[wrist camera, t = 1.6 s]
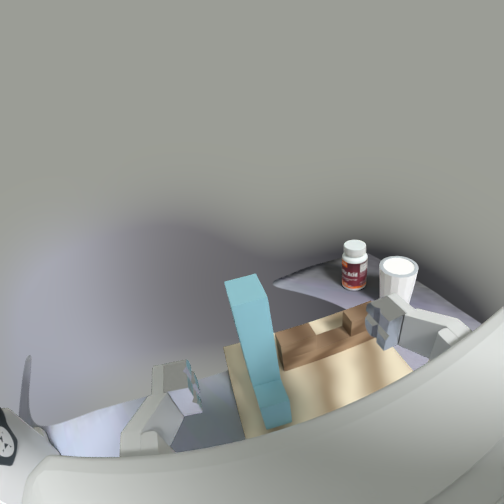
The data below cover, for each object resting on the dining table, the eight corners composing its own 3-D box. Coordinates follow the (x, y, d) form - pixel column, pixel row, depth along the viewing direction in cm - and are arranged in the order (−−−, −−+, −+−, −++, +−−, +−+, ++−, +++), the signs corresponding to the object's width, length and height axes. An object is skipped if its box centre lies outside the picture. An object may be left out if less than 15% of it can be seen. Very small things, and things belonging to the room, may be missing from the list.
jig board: (250, 450, 26) (238, 427, 23) (225, 353, 41) (215, 322, 38) (415, 383, 28) (428, 350, 26) (355, 312, 44) (357, 280, 41)
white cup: (420, 301, 42) (426, 267, 39) (394, 317, 40) (399, 282, 37) (394, 284, 48) (398, 251, 45) (368, 297, 46) (371, 263, 43)
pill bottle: (337, 286, 51) (336, 246, 48) (350, 274, 54) (350, 236, 50) (357, 294, 48) (359, 253, 44) (370, 282, 50) (372, 242, 46)
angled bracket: (266, 429, 27) (238, 330, 19) (247, 369, 35) (220, 267, 28) (292, 422, 27) (278, 318, 20) (268, 363, 36) (248, 259, 29)
